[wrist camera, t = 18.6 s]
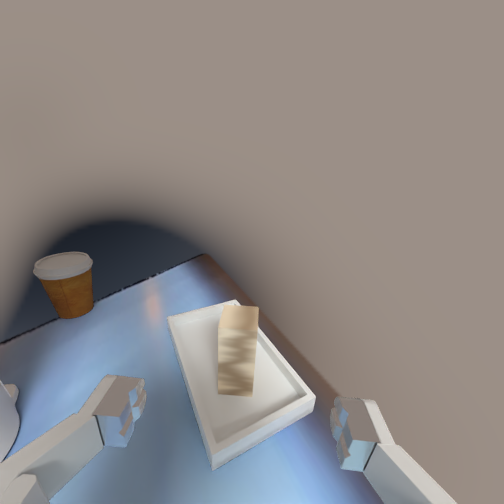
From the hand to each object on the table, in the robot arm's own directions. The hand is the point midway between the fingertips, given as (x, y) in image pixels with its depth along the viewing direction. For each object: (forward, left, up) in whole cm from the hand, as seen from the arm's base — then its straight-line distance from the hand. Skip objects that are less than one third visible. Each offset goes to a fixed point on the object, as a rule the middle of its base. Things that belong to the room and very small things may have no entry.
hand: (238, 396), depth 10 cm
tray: (-3, +23, -24) cm, 33 cm away
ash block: (-1, +19, -23) cm, 30 cm away
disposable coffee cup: (-38, +34, -24) cm, 57 cm away
